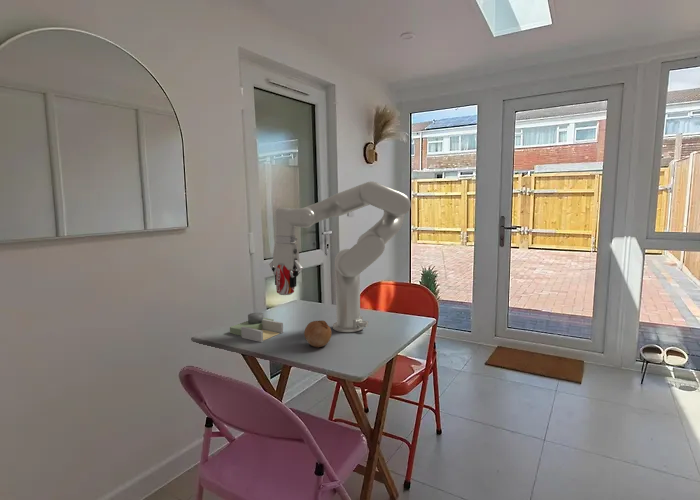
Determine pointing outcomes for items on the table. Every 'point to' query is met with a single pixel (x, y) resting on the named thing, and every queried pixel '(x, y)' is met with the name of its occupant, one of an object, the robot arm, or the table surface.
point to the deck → (257, 328)
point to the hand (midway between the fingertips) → (285, 285)
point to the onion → (317, 333)
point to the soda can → (283, 280)
